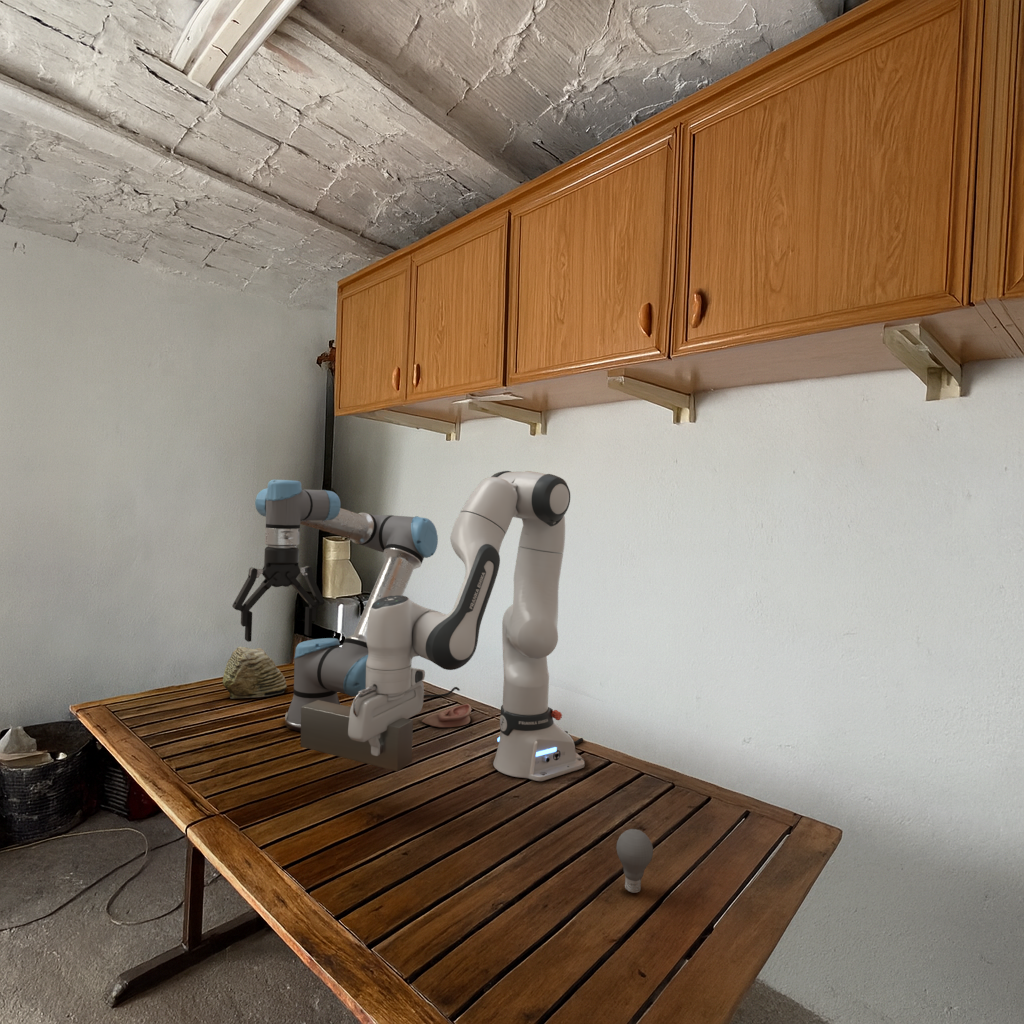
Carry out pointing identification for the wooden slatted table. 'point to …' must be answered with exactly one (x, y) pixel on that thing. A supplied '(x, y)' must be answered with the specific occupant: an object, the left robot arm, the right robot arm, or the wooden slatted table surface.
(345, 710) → the bar
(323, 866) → the wooden slatted table surface
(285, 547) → the left robot arm
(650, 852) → the light bulb
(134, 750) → the wooden slatted table surface
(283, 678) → the fossil
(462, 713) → the anatomical model
